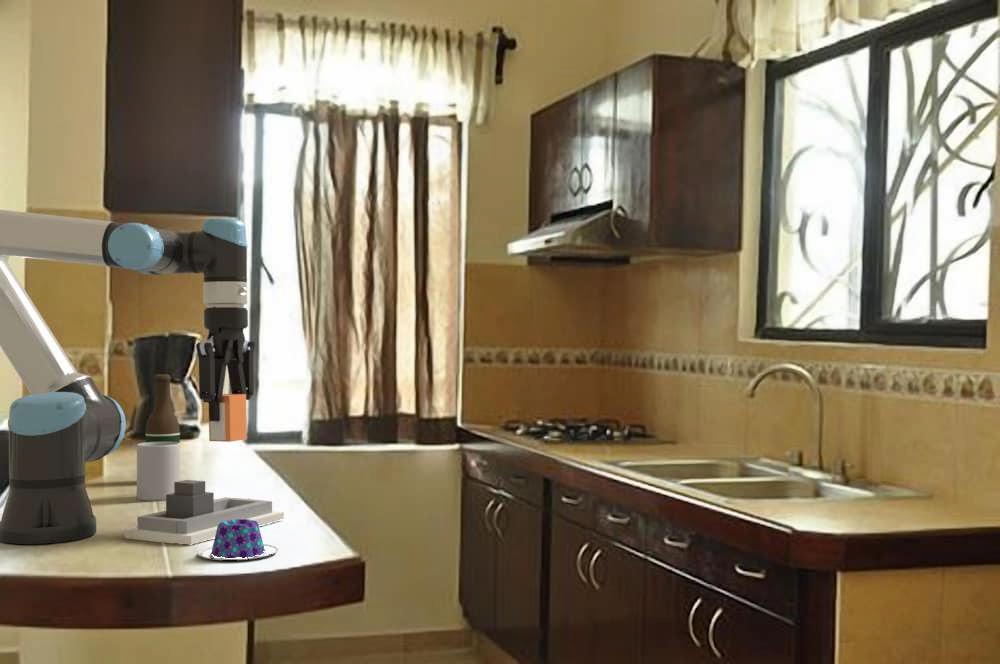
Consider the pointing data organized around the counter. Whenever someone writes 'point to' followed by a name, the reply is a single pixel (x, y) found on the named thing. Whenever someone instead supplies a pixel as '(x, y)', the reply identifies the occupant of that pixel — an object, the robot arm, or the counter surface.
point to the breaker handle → (189, 500)
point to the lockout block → (234, 417)
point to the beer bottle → (162, 414)
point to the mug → (157, 469)
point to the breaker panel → (192, 535)
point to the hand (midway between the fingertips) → (227, 438)
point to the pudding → (237, 540)
